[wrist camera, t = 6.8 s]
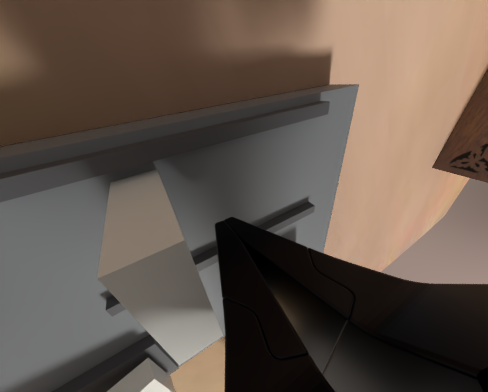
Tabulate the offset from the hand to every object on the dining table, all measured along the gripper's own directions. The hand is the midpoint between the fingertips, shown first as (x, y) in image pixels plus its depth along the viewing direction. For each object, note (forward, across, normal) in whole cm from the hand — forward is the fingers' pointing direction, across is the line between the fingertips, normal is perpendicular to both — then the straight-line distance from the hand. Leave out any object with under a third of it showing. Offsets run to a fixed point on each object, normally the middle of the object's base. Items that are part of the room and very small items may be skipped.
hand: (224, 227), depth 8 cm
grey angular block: (+2, +2, 0) cm, 3 cm away
